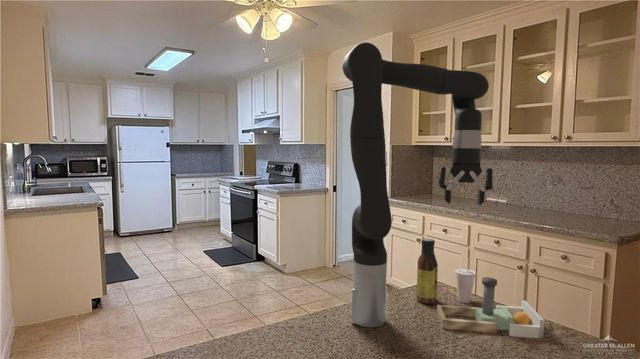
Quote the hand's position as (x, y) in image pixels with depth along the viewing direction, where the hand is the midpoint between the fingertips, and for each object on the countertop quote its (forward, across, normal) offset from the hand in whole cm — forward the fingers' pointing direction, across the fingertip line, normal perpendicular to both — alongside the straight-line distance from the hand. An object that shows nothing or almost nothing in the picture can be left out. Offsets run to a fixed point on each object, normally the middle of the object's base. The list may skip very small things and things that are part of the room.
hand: (464, 203), depth 112 cm
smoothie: (+33, +4, +12) cm, 36 cm away
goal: (+33, +15, -4) cm, 37 cm away
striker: (+33, +8, -4) cm, 34 cm away
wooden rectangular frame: (+33, +2, -4) cm, 33 cm away
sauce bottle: (+33, -8, +10) cm, 36 cm away
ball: (+31, +16, -4) cm, 35 cm away
